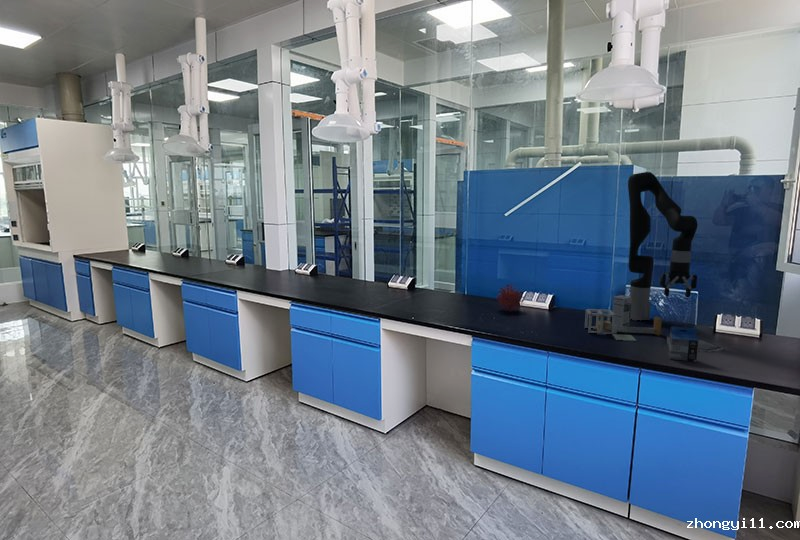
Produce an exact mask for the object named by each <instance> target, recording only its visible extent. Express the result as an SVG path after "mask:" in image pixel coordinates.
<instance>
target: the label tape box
mask: <svg viewBox="0 0 800 540" xmlns="http://www.w3.org/2000/svg"><path fill="white" fill-rule="evenodd" d="M683 330H684V331H683ZM697 330H698V329H697V328H693V327H684V326H683V327H682V326H670V332H669V336H670V342H669V347H668V354H667V355H668V359H670V360H675V361H676V360H677V361H687V362H697V358H698V351H697V349H698V340H699V339H698V336H697Z"/></svg>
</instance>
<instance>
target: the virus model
mask: <svg viewBox="0 0 800 540" xmlns="http://www.w3.org/2000/svg"><path fill="white" fill-rule="evenodd" d="M505 287H506V288H505ZM517 288H518V287H516V285H512V284H506V285H504V286H501V287H500V290H497V292H498V293H499V294H498V295H497V296H496V300H497V301H498V302H497V305H499V307H500V308H501V309H503V308H505V309H504V312H510V313H511V312H513V311H514V312H515V311H518V310H519V308H520V306H521V305H523V304H522V303H524V301H525V300H524V299H525V298H524V296H523V292H522V290H521V291H520V288H518V289H517Z"/></svg>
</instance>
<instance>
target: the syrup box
mask: <svg viewBox="0 0 800 540" xmlns="http://www.w3.org/2000/svg"><path fill="white" fill-rule="evenodd" d="M612 308H613V309H612V312H613V313H614V314H615V315H616V316H615V324H616V325H617V326H627V327H631V326H630V325H631V319H630V313H631V297H630V296H628V295H622V294H621V295H617V296H613V305H612Z"/></svg>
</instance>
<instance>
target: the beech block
mask: <svg viewBox="0 0 800 540" xmlns="http://www.w3.org/2000/svg"><path fill="white" fill-rule="evenodd" d="M600 321H601V319H599V320H597V329H596V331H600ZM611 324H612V321H611V320H610V321H608V320H604V319H603V332H611Z"/></svg>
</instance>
